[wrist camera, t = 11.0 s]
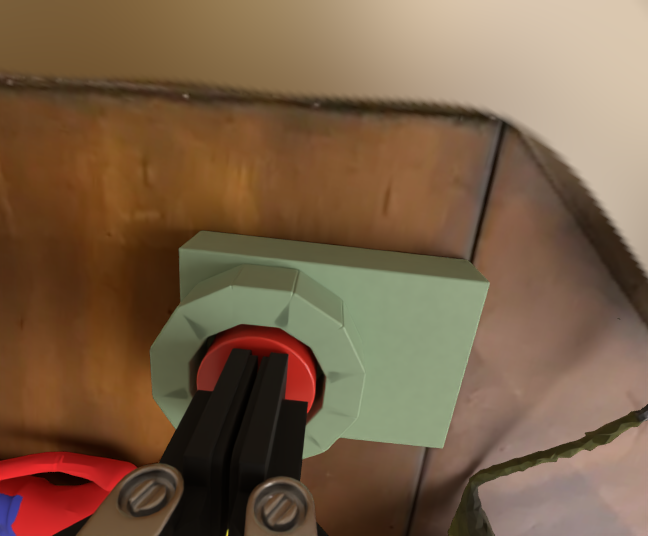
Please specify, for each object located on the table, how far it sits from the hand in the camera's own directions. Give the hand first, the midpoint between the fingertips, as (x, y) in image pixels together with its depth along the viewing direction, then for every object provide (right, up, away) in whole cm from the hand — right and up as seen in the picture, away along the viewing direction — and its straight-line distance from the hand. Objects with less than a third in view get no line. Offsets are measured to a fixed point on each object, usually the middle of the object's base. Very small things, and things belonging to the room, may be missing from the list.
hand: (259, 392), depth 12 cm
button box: (+2, +1, +4) cm, 5 cm away
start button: (0, +1, +2) cm, 2 cm away
